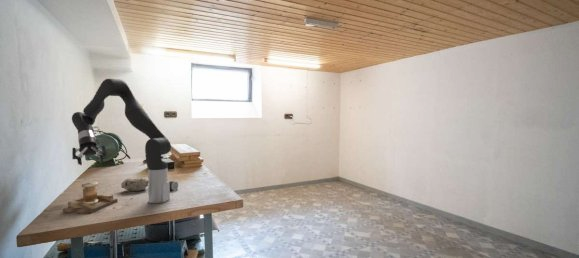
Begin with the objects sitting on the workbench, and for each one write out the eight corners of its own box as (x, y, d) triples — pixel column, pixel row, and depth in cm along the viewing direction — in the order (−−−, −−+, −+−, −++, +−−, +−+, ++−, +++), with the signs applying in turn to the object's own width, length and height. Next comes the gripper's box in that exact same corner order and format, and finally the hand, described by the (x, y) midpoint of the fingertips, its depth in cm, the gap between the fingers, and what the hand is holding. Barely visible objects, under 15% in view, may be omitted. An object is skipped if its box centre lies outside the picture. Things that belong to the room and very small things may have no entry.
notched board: (117, 201, 133) (117, 194, 132) (90, 213, 117) (90, 204, 116) (92, 200, 134) (92, 193, 134) (62, 211, 118) (62, 203, 118)
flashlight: (151, 189, 155) (150, 180, 155) (157, 187, 161) (157, 178, 160) (172, 191, 151) (172, 182, 151) (178, 189, 157) (178, 180, 156)
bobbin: (101, 201, 128) (100, 182, 128) (90, 205, 122) (89, 185, 121) (90, 201, 129) (89, 181, 128) (78, 205, 123) (78, 184, 122)
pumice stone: (121, 194, 144) (120, 179, 144) (121, 193, 153) (120, 179, 154) (149, 189, 151) (148, 176, 152) (148, 188, 161) (147, 176, 162)
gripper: (70, 136, 134) (73, 160, 127) (103, 134, 144) (108, 157, 137) (70, 145, 138) (73, 169, 131) (102, 143, 148) (107, 165, 141)
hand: (91, 163), depth 134 cm, fingers open, 8 cm apart
